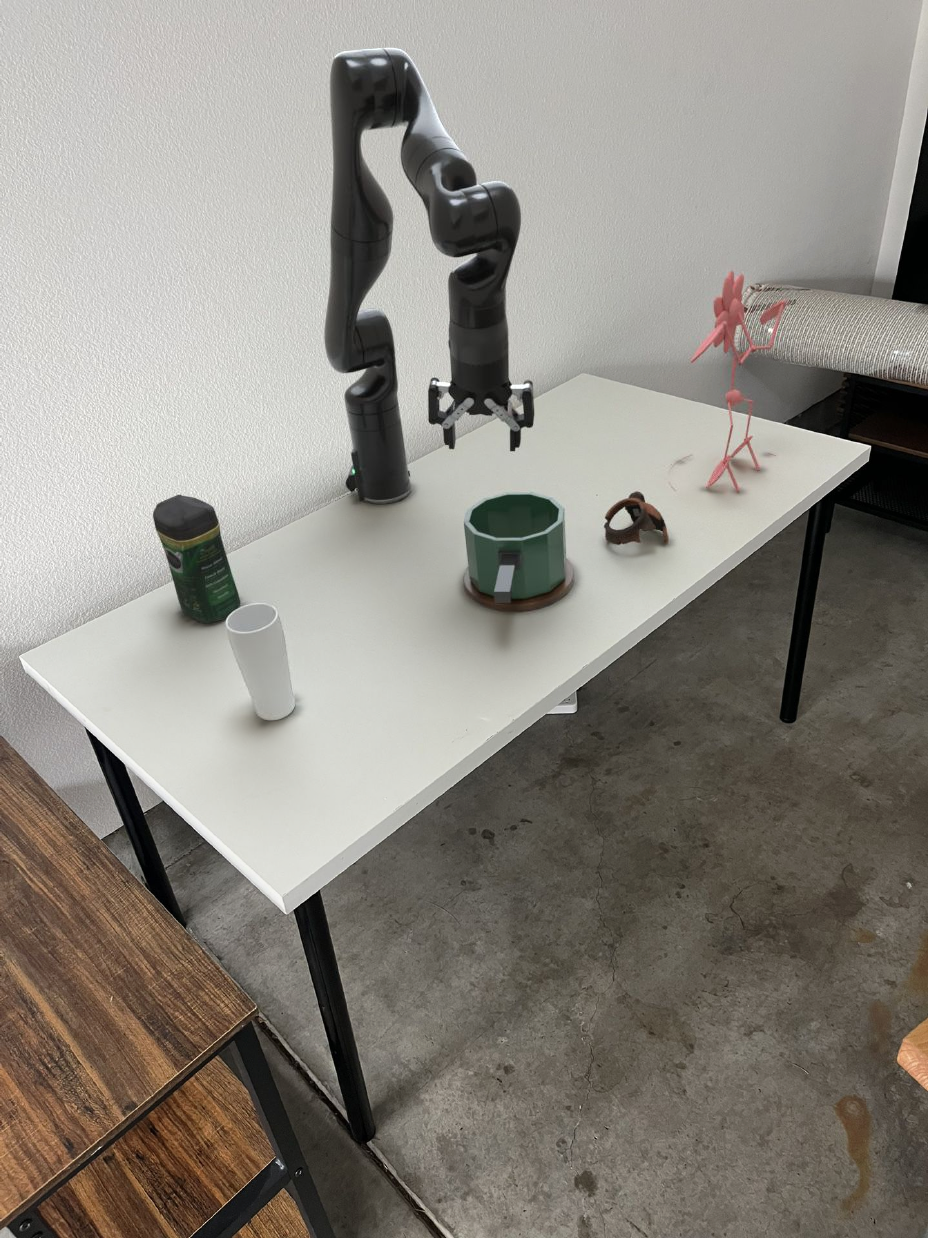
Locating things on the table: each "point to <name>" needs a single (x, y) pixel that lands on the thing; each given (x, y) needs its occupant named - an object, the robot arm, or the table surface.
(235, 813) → the table surface
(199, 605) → the coffee jar
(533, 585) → the pot
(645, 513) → the brown ring-shaped piece
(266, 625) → the drinking glass
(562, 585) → the disc
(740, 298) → the figurine
